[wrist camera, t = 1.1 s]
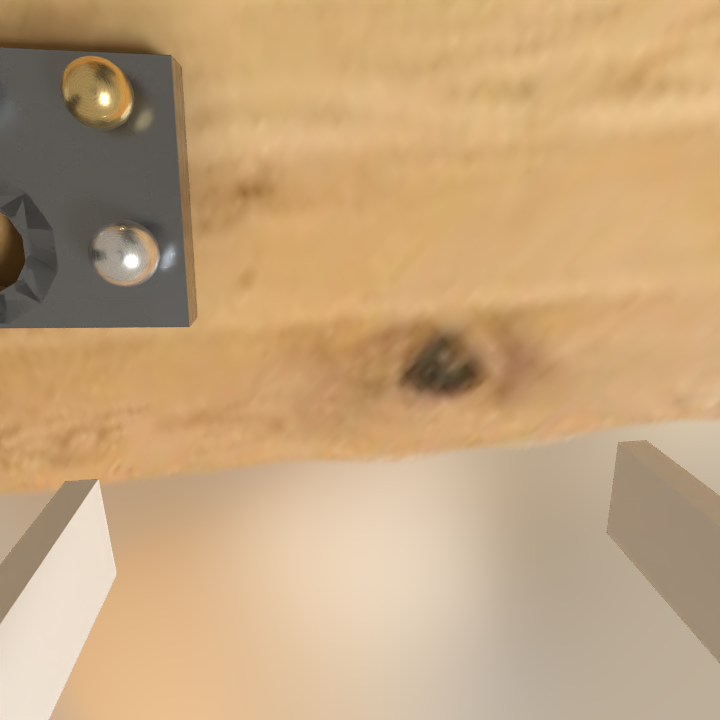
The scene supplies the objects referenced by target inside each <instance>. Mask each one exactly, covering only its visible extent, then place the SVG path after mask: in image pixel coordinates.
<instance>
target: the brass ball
mask: <svg viewBox="0 0 720 720" xmlns="http://www.w3.org/2000/svg"><path fill="white" fill-rule="evenodd" d="M60 92H61V97H62V100H63V102H64V105H65V107H66V108H67V110H68V111H69V112H70V114H71V115H72V116H73V117H74V118H75V119H76V120H77V121H79V122H80V123H82V124H83V125H85V126H87V127H89V128H92V129H96V130H111V129H115V128H117V127H119V126H121V125H122V124H124V123H125V122H126V121H127V120H128V118H129V117H130V115H131V113H132V111H133V107H134V92H133V89H132V86H131V83H130V81H129V79H128V77H127V76H126V75H125V73H124V72H123V71H122V70H121V69H120V68H119V67H118V66H117V65H115V64H114V63H113V62H111V61H109V60H107V59H104V58H102V57H98V56H84V57H80V58H77V59H75V60H74V61H72V62H71V63H70V64H69V65H68V66H67V67H66V68H65V70H64V71H63V73H62V76H61V80H60Z"/></svg>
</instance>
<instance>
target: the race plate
mask: <svg viewBox="0 0 720 720" xmlns="http://www.w3.org/2000/svg"><path fill="white" fill-rule="evenodd" d="M84 56H98V57H102V58H104V59H107V60H109V61H111V62H113V63H114V64H115V65H117V66H118V67H119V68H120V69H121V70H122V71H123V72H124V73H125V75H126V76H127V77H128V79H129V81H130V83H131V86H132V89H133V92H134V107H133V111H132V113H131V115H130V117H129V118H128V120H127V121H126V122H125V123H124V124H122V125H121V126H119V127H117V128H115V129H111V130H96V129H92V128H89V127H87V126H85V125H83V124H82V123H80V122H79V121H77V120H76V119H75V118H74V117H73V116H72V115H71V114H70V112H69V111H68V110H67V108H66V107H65V105H64V102H63V100H62V97H61V92H60V80H61V76H62V73H63V71H64V70H65V68H66V67H67V66H68V65H69V64H70V63H71V62H72V61H74V60H75V59H77V58H80V57H84ZM0 212H1V213H3V214H5V215H6V216H7V217H8V219H9V220H10V221H11V223H12V224H13V225H14V227H15V228H16V229H17V231H18V232H19V234H20V235H21V236H22V240H23V247H24V254H25V261H26V262H25V264H24V266H23V268H22V271H21V273H20V275H19V277H18V279H17V281H16V283H14V284H13V285H11V286H9V287H0V328H113V327H190V326H191V325H192V323H193V322H194V321H195V320H196V318H197V304H196V289H195V273H194V257H193V241H192V226H191V210H190V194H189V178H188V162H187V147H186V131H185V115H184V99H183V84H182V68H181V66H180V65H179V64H178V63H177V61H176V60H175V59H174V58H173V57H172V56H171V55H152V54H130V53H108V52H87V51H65V50H43V49H21V48H0ZM115 219H127V220H132V221H135V222H137V223H139V224H141V225H143V226H144V227H145V228H147V229H148V230H149V231H150V232H151V233H152V235H153V236H154V237H155V239H156V241H157V243H158V246H159V251H160V260H159V264H158V267H157V270H156V271H155V273H154V274H153V275H152V277H150V278H149V279H148V280H147V281H145V282H144V283H142V284H139V285H137V286H132V287H121V286H116V285H113V284H110V283H108V282H106V281H105V280H103V279H102V278H101V277H100V276H99V275H97V273H96V272H95V271H94V270H93V268H92V266H91V264H90V262H89V259H88V243H89V240H90V237H91V235H92V234H93V232H94V231H95V230H96V229H97V228H98V227H99V226H100V225H102V224H104V223H106V222H108V221H111V220H115Z"/></svg>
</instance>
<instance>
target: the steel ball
mask: <svg viewBox="0 0 720 720" xmlns="http://www.w3.org/2000/svg"><path fill="white" fill-rule="evenodd" d="M88 259H89V262H90V264H91V266H92V268H93V270H94V271H95V272H96V273H97V275H99V276H100V277H101V278H102V279H103V280H105V281H106V282H108V283H110V284H113V285H116V286H121V287H132V286H137V285H139V284H142V283H144V282H145V281H147V280H148V279H149V278H150V277H152V275H153V274H154V273H155V271H156V270H157V267H158V264H159V260H160V251H159V246H158V243H157V241H156V239H155V237H154V236H153V235H152V233H151V232H150V231H149V230H148V229H147V228H145V227H144V226H143V225H141V224H139V223H137V222H135V221H132V220H127V219H115V220H111V221H108V222H106V223H104V224H102V225H100V226H99V227H98V228H97V229H96V230H95V231H94V232H93V234H92V235H91V237H90V240H89V243H88Z"/></svg>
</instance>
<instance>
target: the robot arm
mask: <svg viewBox="0 0 720 720" xmlns="http://www.w3.org/2000/svg"><path fill="white" fill-rule="evenodd" d="M607 533H608V535H609V536H610V537H611V538H612V539H613V541H614V542H615V543H616V544H617V545H618V546H619V547H620V549H621V550H622V551H623V552H624V553H625V554H626V555H627V557H628V558H629V559H630V560H631V561H632V562H633V563H634V565H635V566H636V567H637V568H638V569H639V571H640V572H641V573H642V574H643V575H644V576H645V577H646V579H647V580H648V581H649V582H650V583H651V584H652V586H653V587H654V588H655V589H656V590H657V591H658V592H659V594H660V595H661V596H662V597H663V598H664V599H665V601H666V602H667V603H668V604H669V605H670V606H671V607H672V609H673V610H674V611H675V612H676V613H677V614H678V616H679V617H680V618H681V619H682V620H683V621H684V622H685V623H686V625H687V626H688V627H689V628H690V629H691V631H692V632H693V633H694V634H695V635H696V636H697V638H698V639H699V640H700V641H701V642H702V643H703V644H704V646H705V647H706V648H707V649H708V650H709V651H710V652H711V654H712V655H713V656H714V657H715V658H716V659H717V661H718V662H719V663H720V496H719V495H718V494H716V493H715V492H714V491H713V490H711V489H710V488H708V487H707V486H706V485H705V484H703V483H702V482H701V481H699V480H698V479H697V478H695V477H694V476H693V475H691V474H690V473H688V472H687V471H686V470H685V469H683V468H682V467H681V466H679V465H678V464H677V463H675V462H674V461H673V460H671V459H670V458H669V457H667V456H666V455H665V454H663V453H662V452H661V451H659V450H658V449H657V448H655V447H654V446H653V445H651V444H650V443H649V442H647V441H646V440H644V441H629V442H618V448H617V455H616V463H615V472H614V479H613V487H612V494H611V503H610V510H609V518H608V526H607ZM115 576H116V568H115V563H114V559H113V553H112V548H111V543H110V537H109V532H108V527H107V522H106V516H105V511H104V506H103V500H102V495H101V490H100V485H99V479H92V480H78V481H65V483H64V484H63V485H62V486H61V488H60V489H59V490H58V491H57V493H56V494H55V495H54V497H53V498H52V499H51V500H50V502H49V503H48V504H47V506H46V507H45V508H44V509H43V511H42V512H41V513H40V515H39V516H38V517H37V518H36V520H35V521H34V522H33V524H32V525H31V526H30V527H29V529H28V530H27V531H26V532H25V534H24V535H23V536H22V538H21V539H20V540H19V541H18V543H17V544H16V545H15V547H14V548H13V549H12V550H11V552H10V553H9V554H8V556H7V557H6V558H5V559H4V561H3V562H2V563H1V565H0V720H49V718H50V716H51V714H52V712H53V709H54V707H55V705H56V703H57V701H58V699H59V697H60V694H61V692H62V690H63V688H64V686H65V684H66V682H67V679H68V677H69V675H70V673H71V671H72V669H73V667H74V665H75V662H76V660H77V658H78V656H79V654H80V652H81V650H82V647H83V645H84V643H85V641H86V639H87V636H88V635H89V632H90V630H91V628H92V626H93V624H94V622H95V619H96V617H97V615H98V613H99V611H100V609H101V607H102V604H103V602H104V600H105V598H106V596H107V594H108V592H109V590H110V587H111V585H112V583H113V581H114V579H115Z"/></svg>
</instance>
